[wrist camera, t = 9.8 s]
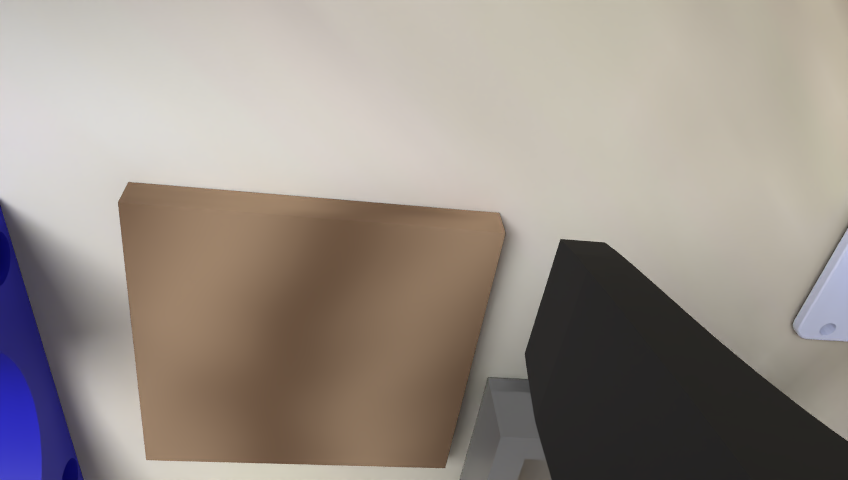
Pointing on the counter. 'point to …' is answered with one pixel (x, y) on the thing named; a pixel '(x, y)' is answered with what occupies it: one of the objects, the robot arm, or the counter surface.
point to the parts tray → (505, 436)
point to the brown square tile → (302, 324)
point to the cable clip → (27, 388)
